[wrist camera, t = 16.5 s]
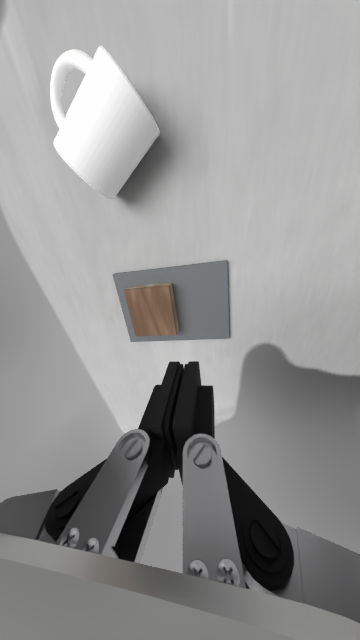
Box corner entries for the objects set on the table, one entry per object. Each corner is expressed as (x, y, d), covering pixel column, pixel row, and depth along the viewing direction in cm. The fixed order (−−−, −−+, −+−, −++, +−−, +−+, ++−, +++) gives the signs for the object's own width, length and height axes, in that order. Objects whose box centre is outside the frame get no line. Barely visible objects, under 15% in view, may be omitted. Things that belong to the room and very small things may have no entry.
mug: (166, 144, 24) (147, 104, 17) (122, 204, 28) (91, 192, 21) (99, 54, 22) (44, -36, 15) (61, 133, 26) (2, 93, 19)
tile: (168, 285, 29) (123, 290, 31) (176, 334, 33) (135, 336, 34) (171, 282, 31) (129, 286, 33) (178, 328, 35) (139, 330, 36)
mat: (226, 260, 29) (227, 260, 28) (229, 336, 34) (229, 338, 34) (114, 273, 33) (112, 274, 32) (132, 340, 38) (130, 341, 38)
